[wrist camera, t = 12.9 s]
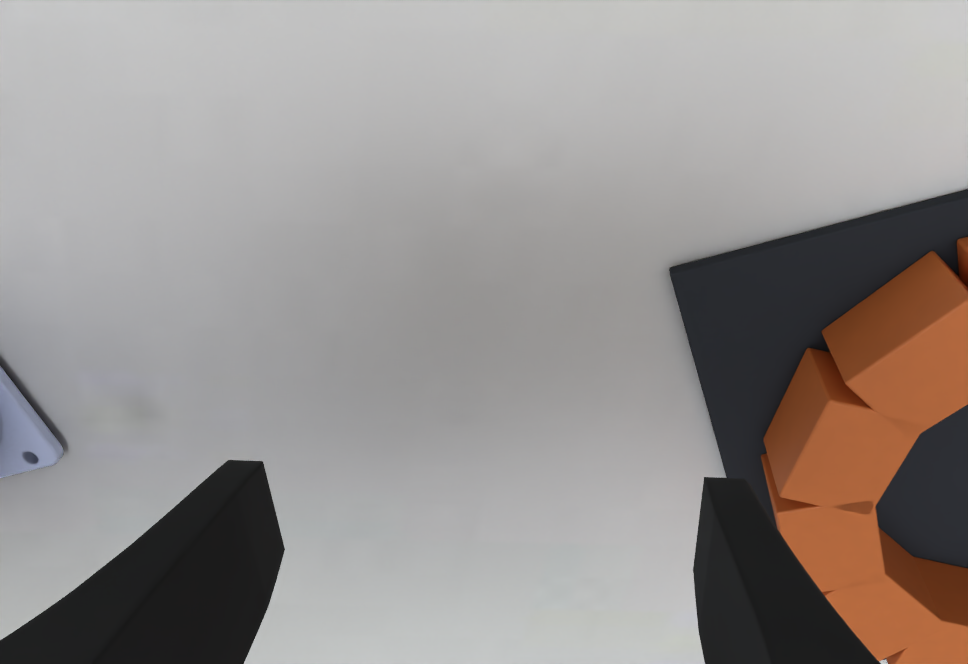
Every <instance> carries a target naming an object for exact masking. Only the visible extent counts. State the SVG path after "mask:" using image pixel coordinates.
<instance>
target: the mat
mask: <svg viewBox="0 0 968 664" xmlns="http://www.w3.org/2000/svg"><path fill="white" fill-rule="evenodd" d="M964 237H968V190H965V191H961V192H957V193H954V194H950V195H946V196H942V197H938V198H935V199H931V200H927V201H923V202H919V203H915V204H912V205H908V206H904V207H900V208H896V209H893V210H889V211H885V212H881V213H877V214H873V215H870V216H866V217H862V218H858V219H854V220H851V221H847V222H843V223H839V224H835V225H832V226H828V227H824V228H820V229H816V230H812V231H809V232H805V233H801V234H797V235H793V236H790V237H786V238H782V239H778V240H774V241H770V242H767V243H763V244H759V245H755V246H751V247H748V248H744V249H740V250H736V251H732V252H729V253H725V254H721V255H717V256H713V257H709V258H706V259H702V260H698V261H694V262H690V263H687V264H683V265H679V266H675V267H671V268H670V269H669V271H670V276H671V280H672V283H673V287H674V290H675V294H676V298H677V301H678V305H679V308H680V312H681V315H682V319H683V323H684V326H685V330H686V333H687V337H688V340H689V344H690V347H691V351H692V355H693V358H694V362H695V365H696V369H697V372H698V376H699V380H700V383H701V387H702V390H703V394H704V397H705V401H706V405H707V408H708V412H709V415H710V419H711V422H712V426H713V430H714V433H715V437H716V440H717V444H718V447H719V451H720V455H721V458H722V462H723V465H724V469H725V472H726V476H727V478H737V479H745V480H746V481H747V482H748V483H749V484H750V485H751V486H752V488H753V490H754V491H755V493H756V495H757V497H758V498H759V500H760V502H761V503H762V505H763V507H764V508H765V510H766V512H767V513H768V515H769V517H770V518H771V520H772V521H773V523H774V524H775V526H776V528H777V525H776V521H775V516H774V512H773V508H772V503H771V499H770V495H769V490H768V486H767V482H766V477H765V473H764V469H763V464H762V460H761V455H762V454H767V451H766V448H765V444H764V441H763V438H764V436H765V434H766V432H767V430H768V428H769V426H770V424H771V422H772V420H773V417H774V415H775V413H776V411H777V409H778V407H779V405H780V403H781V401H782V399H783V397H784V395H785V393H786V391H787V388H788V386H789V384H790V382H791V380H792V378H793V376H794V374H795V372H796V370H797V368H798V366H799V364H800V361H801V359H802V357H803V355H804V353H805V351H806V349H807V348H813V349H817V350H822V351H826V352H830V350H829V348H828V346H827V343H826V341H825V339H824V337H823V335H822V330H823V329H824V328H826V327H827V326H829V325H830V324H831V323H833V322H834V321H835V320H837V319H838V318H840V317H841V316H842V315H844V314H845V313H846V312H848V311H849V310H851V309H852V308H853V307H855V306H856V305H857V304H859V303H860V302H862V301H863V300H864V299H866V298H867V297H868V296H870V295H871V294H873V293H874V292H875V291H877V290H878V289H879V288H881V287H882V286H884V285H885V284H886V283H888V282H889V281H890V280H892V279H893V278H895V277H896V276H897V275H899V274H900V273H901V272H903V271H904V270H906V269H907V268H908V267H910V266H911V265H912V264H914V263H915V262H916V261H918V260H919V259H921V258H922V257H923V256H925V255H926V254H927V253H929V252H930V251H934V252H935V253H936V254H937V255H938V256H939V257H940V258H941V259H942V260H943V261H944V262H945V263H946V264H947V265H948V266H949V267H950V268H951V269H952V270H953V271H954V272H955V273H956V274H957V275H958V276H959V267H958V253H957V240H958V239H960V238H964ZM876 513H877V520H878V526H879V528H880V529H881V530H882V531H884V532H885V533H886V534H887V535H888V536H889V537H891V538H892V539H893V540H894V541H895V542H896V543H898V544H899V545H900V546H901V547H902V548H903V549H905V550H906V551H907V552H908V553H909V554H910V555H912V556H913V557H918V558H922V559H927V560H931V561H936V562H940V563H945V564H949V565H954V566H959V567H963V568H968V405H966V406H964V407H963V408H961V409H959V410H958V411H956V412H955V413H953V414H951V415H950V416H948V417H946V418H945V419H943V420H942V421H940V422H938V423H937V424H935V425H934V426H932V427H930V428H929V429H927V430H925V431H924V432H922V433H921V434H920V435H919V437H918V438H917V440H916V441H915V443H914V445H913V446H912V448H911V450H910V451H909V453H908V454H907V456H906V458H905V459H904V461H903V463H902V464H901V466H900V467H899V469H898V471H897V472H896V474H895V476H894V477H893V479H892V480H891V482H890V484H889V485H888V487H887V489H886V490H885V492H884V493H883V495H882V497H881V498H880V500H879V502H878V503H877V505H876ZM885 659H886V658H885ZM885 659H883V660H885Z"/></svg>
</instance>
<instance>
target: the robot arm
mask: <svg viewBox="0 0 968 664" xmlns="http://www.w3.org/2000/svg"><path fill="white" fill-rule="evenodd" d="M63 454H64V453H63V448H62V446H61V444H60V443H59V442H58V440H57V439H56V438H55V436H54V435H53V434H52V432H51V431H50V430H49V429H48V427H47V426H46V425H45V423H44V422H43V421H42V419H41V418H40V417H39V416H38V414H37V413H36V412H35V410H34V409H33V408H32V406H31V405H30V404H29V403H28V401H27V400H26V399H25V397H24V396H23V395H22V393H21V392H20V391H19V390H18V388H17V387H16V386H15V384H14V383H13V382H12V381H11V379H10V378H9V377H8V375H7V374H6V373H5V371H4V370H3V369H2V368H1V366H0V478H3V477H7V476H11V475H15V474H19V473H23V472H27V471H31V470H35V469H39V468H43V467H48V466H52V465H54V464H56V463H57V462H58V461H59V460H60V459H61V457H62V456H63ZM284 550H285V549H284V545H283V540H282V536H281V532H280V528H279V524H278V520H277V516H276V512H275V508H274V504H273V500H272V496H271V492H270V488H269V484H268V480H267V476H266V472H265V468H264V464H263V461H238V460H228V461H227V462H226V463H224V464H223V465H222V466H221V467H220V468H218V469H217V470H216V471H215V472H214V473H213V474H211V475H210V476H209V477H208V478H207V479H206V480H205V481H203V482H202V483H201V484H200V485H199V486H198V487H197V488H196V489H194V490H193V491H192V492H191V493H190V494H189V495H188V496H187V497H185V498H184V499H183V500H182V501H181V502H180V503H179V504H178V505H176V506H175V507H174V508H173V509H172V510H171V511H170V512H168V513H167V514H166V515H165V516H164V517H163V518H162V519H160V520H159V521H158V522H157V523H156V524H155V525H153V526H152V527H151V528H150V529H149V530H148V531H146V532H145V533H144V534H143V535H142V536H141V537H139V538H138V539H137V540H136V541H135V542H134V543H132V544H131V545H130V546H129V547H128V548H126V549H125V550H124V551H123V552H121V553H120V554H119V555H118V556H116V557H115V558H114V559H112V560H111V561H110V562H109V563H107V564H106V565H105V566H104V567H102V568H101V569H100V570H99V571H97V572H96V573H95V574H94V575H92V576H91V577H90V578H89V579H87V580H86V581H85V582H84V583H82V584H81V585H80V586H78V587H77V588H76V589H74V590H73V591H72V592H70V593H69V594H68V595H66V596H65V597H64V598H62V599H61V600H59V601H58V602H57V603H55V604H54V605H52V606H51V607H50V608H48V609H47V610H45V611H44V612H42V613H41V614H39V615H38V616H36V617H35V618H34V619H32V620H31V621H29V622H28V623H26V624H25V625H23V626H22V627H20V628H19V629H17V630H16V631H14V632H13V633H11V634H10V635H8V636H7V637H5V638H3V639H2V640H0V664H244V661H245V659H246V657H247V655H248V652H249V650H250V648H251V645H252V643H253V641H254V639H255V636H256V634H257V632H258V629H259V627H260V625H261V622H262V620H263V618H264V615H265V613H266V610H267V608H268V605H269V602H270V599H271V596H272V592H273V589H274V586H275V583H276V579H277V576H278V572H279V568H280V565H281V561H282V558H283V554H284ZM693 572H694V584H695V596H696V607H697V618H698V628H699V635H700V640H701V645H702V650H703V655H704V660H705V664H880V662H879V661H878V660H877V659H876V658H875V657H874V656H873V655H872V653H871V652H870V651H869V650H868V649H867V648H866V646H865V645H864V644H863V643H862V642H861V641H860V639H859V638H858V637H857V636H856V635H855V633H854V632H853V631H852V630H851V628H850V627H849V626H848V625H847V624H846V622H845V621H844V620H843V619H842V617H841V616H840V615H839V614H838V613H837V611H836V610H835V609H834V607H833V606H832V605H831V604H830V602H829V601H828V600H827V598H826V597H825V596H824V595H823V593H822V592H821V590H820V589H819V588H818V586H817V585H816V584H815V582H814V581H813V580H812V578H811V577H810V575H809V574H808V573H807V571H806V570H805V569H804V567H803V566H802V564H801V563H800V562H799V560H798V559H797V557H796V556H795V555H794V553H793V552H792V550H791V549H790V547H789V546H788V544H787V543H786V541H785V540H784V538H783V537H782V535H781V534H780V532H779V531H778V529H777V528H776V526H775V524H774V523H773V521H772V520H771V518H770V517H769V515H768V513H767V512H766V510H765V508H764V507H763V505H762V503H761V502H760V500H759V498H758V497H757V495H756V493H755V491H754V490H753V488H752V486H751V485H750V484H749V483H748V482H747V481H746V480H745V479H737V478H709V477H704V484H703V493H702V501H701V509H700V518H699V526H698V535H697V543H696V551H695V560H694V568H693Z"/></svg>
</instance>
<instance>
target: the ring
mask: <svg viewBox="0 0 968 664" xmlns="http://www.w3.org/2000/svg"><path fill="white" fill-rule="evenodd" d="M957 253H958V267H959V276H958V275H957V274H956V273H955V272H954V271H953V270H952V269H951V268H950V267H949V266H948V265H947V264H946V263H945V262H944V261H943V260H942V259H941V258H940V257H939V256H938V255H937V254H936V253H935V252H934V251H930V252H929V253H927V254H926V255H925V256H923V257H922V258H921V259H919V260H918V261H916V262H915V263H914V264H912V265H911V266H910V267H908V268H907V269H906V270H904V271H903V272H901V273H900V274H899V275H897V276H896V277H895V278H893V279H892V280H890V281H889V282H888V283H886V284H885V285H884V286H882V287H881V288H879V289H878V290H877V291H875V292H874V293H873V294H871V295H870V296H868V297H867V298H866V299H864V300H863V301H862V302H860V303H859V304H857V305H856V306H855V307H853V308H852V309H851V310H849V311H848V312H846V313H845V314H844V315H842V316H841V317H840V318H838V319H837V320H835V321H834V322H833V323H831V324H830V325H829V326H827V327H826V328H824V329H823V330H822V335H823V337H824V339H825V341H826V343H827V346H828V348H829V350H830V352H826V351H822V350H817V349H813V348H807V349H806V351H805V353H804V355H803V357H802V359H801V361H800V364H799V366H798V368H797V370H796V372H795V374H794V376H793V378H792V380H791V382H790V384H789V386H788V388H787V391H786V393H785V395H784V397H783V399H782V401H781V403H780V405H779V407H778V409H777V411H776V413H775V415H774V417H773V420H772V422H771V424H770V426H769V428H768V430H767V432H766V434H765V436H764V438H763V441H764V444H765V448H766V451H767V454H762V455H761V460H762V464H763V469H764V473H765V477H766V482H767V486H768V490H769V495H770V499H771V503H772V508H773V512H774V516H775V521H776V525H777V529H778V531H779V532H780V534H781V535H782V537H783V538H784V540H785V541H786V543H787V544H788V546H789V547H790V549H791V550H792V552H793V553H794V555H795V556H796V557H797V559H798V560H799V562H800V563H801V564H802V566H803V567H804V569H805V570H806V571H807V573H808V574H809V575H810V577H811V578H812V580H813V581H814V582H815V584H816V585H817V586H818V588H819V589H820V590H821V592H822V593H823V595H824V596H825V597H826V598H827V600H828V601H829V602H830V604H831V605H832V606H833V607H834V609H835V610H836V611H837V613H838V614H839V615H840V616H841V617H842V619H843V620H844V621H845V622H846V624H847V625H848V626H849V627H850V628H851V630H852V631H853V632H854V633H855V635H856V636H857V637H858V638H859V639H860V641H861V642H862V643H863V644H864V645H865V646H866V648H867V649H868V650H869V651H870V652H871V653H872V655H873V656H874V657H875V658H876V659H877V660H878V661H881V660H883V659H885V658H886V659H887V662H888V664H968V568H963V567H959V566H954V565H949V564H945V563H940V562H936V561H931V560H927V559H922V558H918V557H913V556H912V555H910V554H909V553H908V552H907V551H906V550H905V549H903V548H902V547H901V546H900V545H899V544H898V543H896V542H895V541H894V540H893V539H892V538H891V537H889V536H888V535H887V534H886V533H885V532H884V531H882V530H881V529H880V528H879V526H878V520H877V513H876V505H877V503H878V502H879V500H880V498H881V497H882V495H883V493H884V492H885V490H886V489H887V487H888V485H889V484H890V482H891V480H892V479H893V477H894V476H895V474H896V472H897V471H898V469H899V467H900V466H901V464H902V463H903V461H904V459H905V458H906V456H907V454H908V453H909V451H910V450H911V448H912V446H913V445H914V443H915V441H916V440H917V438H918V437H919V435H920V434H921V433H922V432H924V431H925V430H927V429H929V428H930V427H932V426H934V425H935V424H937V423H938V422H940V421H942V420H943V419H945V418H946V417H948V416H950V415H951V414H953V413H955V412H956V411H958V410H959V409H961V408H963V407H964V406H966V405H968V237H964V238H960V239H958V240H957Z"/></svg>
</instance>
